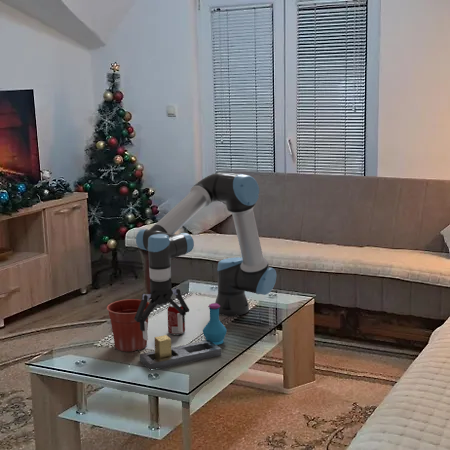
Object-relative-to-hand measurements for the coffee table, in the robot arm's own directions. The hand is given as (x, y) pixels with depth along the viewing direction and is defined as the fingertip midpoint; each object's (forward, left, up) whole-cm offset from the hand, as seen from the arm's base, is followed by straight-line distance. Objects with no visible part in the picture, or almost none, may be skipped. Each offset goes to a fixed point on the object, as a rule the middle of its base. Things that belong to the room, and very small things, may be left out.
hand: (163, 335), depth 252 cm
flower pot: (+5, -20, -10) cm, 23 cm away
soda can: (-16, -24, -10) cm, 30 cm away
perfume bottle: (-25, -8, -10) cm, 28 cm away
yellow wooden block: (0, 0, -10) cm, 10 cm away
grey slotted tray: (-7, 0, -10) cm, 12 cm away
